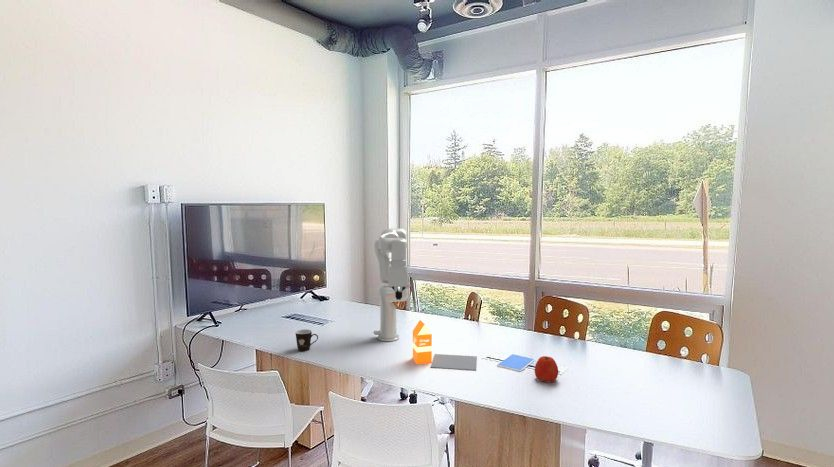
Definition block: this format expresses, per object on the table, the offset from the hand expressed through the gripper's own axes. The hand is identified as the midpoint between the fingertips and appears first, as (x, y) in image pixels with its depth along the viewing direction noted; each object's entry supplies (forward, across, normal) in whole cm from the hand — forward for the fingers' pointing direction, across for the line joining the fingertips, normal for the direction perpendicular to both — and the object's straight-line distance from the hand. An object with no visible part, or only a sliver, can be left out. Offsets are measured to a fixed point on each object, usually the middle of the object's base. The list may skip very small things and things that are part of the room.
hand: (398, 299), depth 208 cm
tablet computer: (+32, +59, +4) cm, 67 cm away
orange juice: (+31, +12, 0) cm, 34 cm away
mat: (+31, +28, 0) cm, 42 cm away
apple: (+31, +71, -14) cm, 79 cm away
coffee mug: (+31, -53, +5) cm, 62 cm away
